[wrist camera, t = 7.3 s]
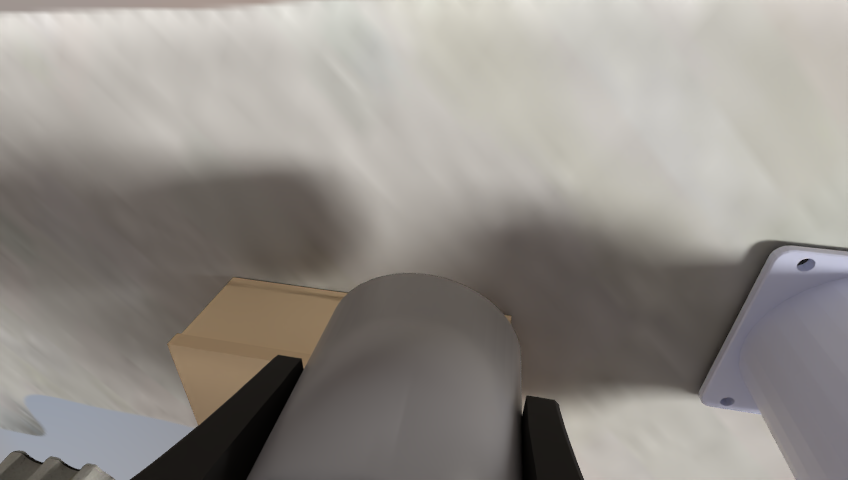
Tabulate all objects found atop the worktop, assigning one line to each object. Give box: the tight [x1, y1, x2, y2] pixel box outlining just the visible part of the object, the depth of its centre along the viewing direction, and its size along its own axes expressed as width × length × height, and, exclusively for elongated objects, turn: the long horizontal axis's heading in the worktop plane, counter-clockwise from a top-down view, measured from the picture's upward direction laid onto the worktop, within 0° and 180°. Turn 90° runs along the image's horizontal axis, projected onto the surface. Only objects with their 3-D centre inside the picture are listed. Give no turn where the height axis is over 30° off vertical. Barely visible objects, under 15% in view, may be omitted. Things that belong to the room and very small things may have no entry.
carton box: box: [182, 277, 511, 354], centre depth 22 cm, size 13×14×4 cm
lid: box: [167, 333, 312, 425], centre depth 20 cm, size 13×14×1 cm
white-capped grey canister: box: [246, 273, 523, 480], centre depth 10 cm, size 5×5×5 cm
